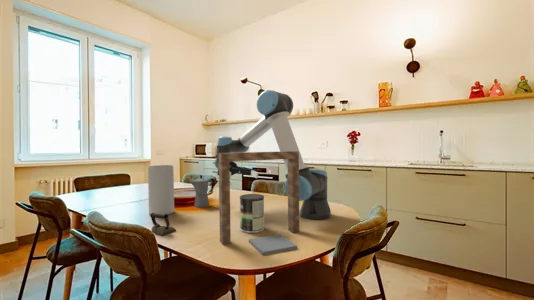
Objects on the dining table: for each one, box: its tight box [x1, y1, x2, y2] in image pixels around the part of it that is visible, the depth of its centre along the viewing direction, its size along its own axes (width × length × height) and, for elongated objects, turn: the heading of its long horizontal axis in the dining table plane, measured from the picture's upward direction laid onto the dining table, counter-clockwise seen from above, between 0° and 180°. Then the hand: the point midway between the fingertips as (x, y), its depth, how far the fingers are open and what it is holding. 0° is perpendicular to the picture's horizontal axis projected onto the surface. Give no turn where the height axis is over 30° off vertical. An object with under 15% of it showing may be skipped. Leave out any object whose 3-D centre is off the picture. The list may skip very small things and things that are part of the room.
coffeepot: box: [189, 174, 216, 208], centre depth 159 cm, size 15×9×18 cm, turn 125°
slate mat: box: [248, 233, 298, 256], centre depth 96 cm, size 13×13×1 cm
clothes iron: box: [150, 213, 177, 237], centre depth 112 cm, size 7×11×10 cm, turn 61°
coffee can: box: [239, 193, 265, 234], centre depth 114 cm, size 10×10×14 cm
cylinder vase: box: [147, 164, 175, 216], centre depth 142 cm, size 12×12×25 cm
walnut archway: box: [218, 150, 300, 246], centre depth 105 cm, size 32×4×33 cm, turn 114°
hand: (244, 175), depth 124 cm, fingers open, 13 cm apart
